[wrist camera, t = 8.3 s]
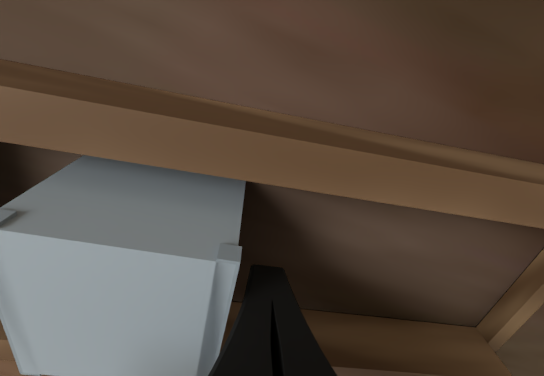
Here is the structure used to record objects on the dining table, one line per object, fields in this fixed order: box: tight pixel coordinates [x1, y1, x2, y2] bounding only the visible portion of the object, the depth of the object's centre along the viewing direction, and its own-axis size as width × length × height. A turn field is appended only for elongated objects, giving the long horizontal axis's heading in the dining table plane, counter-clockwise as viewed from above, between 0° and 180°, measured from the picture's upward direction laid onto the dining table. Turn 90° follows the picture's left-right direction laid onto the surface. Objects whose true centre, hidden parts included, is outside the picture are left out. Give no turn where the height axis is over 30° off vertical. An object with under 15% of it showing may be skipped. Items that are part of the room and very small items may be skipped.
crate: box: [0, 155, 246, 376], centre depth 10 cm, size 6×6×5 cm
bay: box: [0, 59, 544, 376], centre depth 12 cm, size 12×28×3 cm, turn 79°
